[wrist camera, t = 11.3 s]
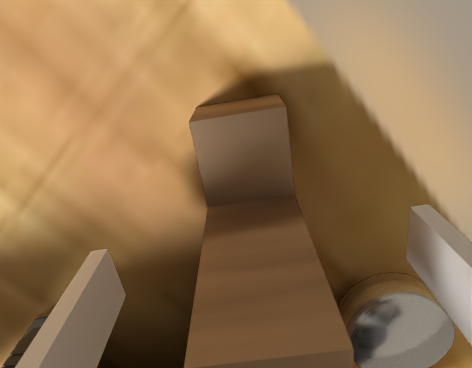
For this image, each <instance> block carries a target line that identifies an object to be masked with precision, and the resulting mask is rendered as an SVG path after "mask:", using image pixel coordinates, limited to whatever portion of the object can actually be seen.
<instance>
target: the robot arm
mask: <svg viewBox="0 0 472 368" xmlns="http://www.w3.org/2000/svg"><path fill="white" fill-rule="evenodd" d="M406 260H407V261H408V263H409V264H410V265H411V267H412V268H413V269H414V271H415V272H416V273H417V274H418V276H419V277H420V278H421V280H422V281H423V282H424V284H425V285H426V286H427V288H428V289H429V290H430V292H431V293H432V294H433V296H434V297H435V298H436V300H437V301H438V302H439V304H440V305H441V306H442V307H443V309H444V310H445V311H446V313H447V314H448V315H449V317H450V318H451V319H452V321H453V322H454V323H455V325H456V326H457V327H458V329H459V330H460V331H461V333H462V334H463V335H464V337H465V338H466V339H467V340H468V342H469V343H470V344H471V346H472V242H471V241H470V240H469V239H468V238H466V237H465V236H464V235H463V234H462V233H461V232H460V231H458V230H457V229H456V228H455V227H454V226H453V225H452V224H451V223H449V222H448V221H447V220H446V219H445V218H444V217H443V216H442V215H440V214H439V213H438V212H437V211H436V210H435V209H434V208H432V207H431V206H430V205H429V204H426V205H419V206H411V207H410V212H409V226H408V240H407V253H406ZM125 297H126V294H125V291H124V289H123V286H122V284H121V281H120V279H119V276H118V273H117V271H116V268H115V266H114V263H113V261H112V258H111V256H110V253H109V251H108V249H101V250H94V251H91V252H90V253H89V255H88V256H87V258H86V259H85V261H84V263H83V264H82V266H81V267H80V269H79V270H78V272H77V273H76V275H75V276H74V278H73V279H72V281H71V282H70V284H69V286H68V287H67V289H66V290H65V292H64V293H63V295H62V296H61V298H60V299H59V301H58V302H57V304H56V305H55V307H54V309H53V310H52V312H51V313H50V315H49V316H48V318H47V319H46V321H45V322H44V324H43V325H42V327H38V328H33V329H32V330H31V331H30V332H29V333H28V334H27V335H26V336H24V337H23V338H22V339H21V340H20V341H19V343H18V344H17V346H16V347H15V349H14V350H13V351H12V353H11V354H10V357H9V358H8V359H7V360H6V361H5V363H4V364H3V366H2V368H97V366H98V363H99V361H100V358H101V356H102V354H103V351H104V349H105V346H106V344H107V341H108V339H109V336H110V334H111V332H112V329H113V327H114V324H115V322H116V319H117V317H118V314H119V312H120V309H121V307H122V305H123V302H124V300H125Z"/></svg>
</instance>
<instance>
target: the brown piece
mask: <svg viewBox="0 0 472 368" xmlns="http://www.w3.org/2000/svg"><path fill="white" fill-rule="evenodd" d="M189 125H190V129H191V134H192V138H193V143H194V147H195V152H196V156H197V161H198V165H199V170H200V174H201V178H202V183H203V187H204V192H205V196H206V201H207V205H208V210H207V217H206V223H205V230H204V236H203V243H202V250H201V256H200V263H199V270H198V276H197V283H196V290H195V296H194V303H193V310H192V316H191V323H190V330H189V336H188V343H187V350H186V356H185V363H184V368H354V349H353V346H352V344H351V341H350V338H349V336H348V333H347V330H346V328H345V325H344V323H343V320H342V317H341V315H340V312H339V309H338V307H337V304H336V301H335V299H334V296H333V294H332V291H331V288H330V286H329V283H328V280H327V278H326V275H325V273H324V270H323V267H322V265H321V262H320V259H319V257H318V254H317V251H316V249H315V246H314V244H313V241H312V238H311V236H310V233H309V230H308V228H307V225H306V223H305V220H304V217H303V215H302V212H301V209H300V207H299V204H298V201H297V199H296V196H295V191H294V181H293V170H292V160H291V150H290V139H289V129H288V119H287V108H286V105H285V104H284V103H283V101H282V100H281V98H280V97H279V96H278V94H274V95H268V96H262V97H256V98H250V99H244V100H238V101H232V102H226V103H220V104H214V105H208V106H202V107H196V109H195V111H194V113H193V115H192V117H191V119H190V121H189Z"/></svg>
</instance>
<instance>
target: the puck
mask: <svg viewBox="0 0 472 368" xmlns="http://www.w3.org/2000/svg"><path fill="white" fill-rule="evenodd" d="M338 309H339V312H340V315H341V317H342V320H343V323H344V325H345V328H346V330H347V333H348V336H349V338H350V341H351V344H352V346H353V349H354V361H355V362H356V364H357V365H358V366H359V367H360V368H429V367H431V366H432V365H434V364H435V363H437V362H438V361H439V360H440V359H442V358H443V357H444V356H445V354H446V353H447V352H448V351H449V349H450V348H451V346H452V344H453V341H454V336H455V329H454V325H453V323H452V321H451V319H450V318H449V317H448V315H447V314H446V313H445V312H444V310H443V309H442V308H441V306H440V305H439V304H438V302H437V301H436V300H435V299H434V297H433V296H432V295H431V293H430V292H429V291H428V290H427V288H426V287H425V286H424V284H423V283H422V282H420V281H419V280H418V279H416V278H414V277H412V276H409V275H406V274H402V273H383V274H378V275H374V276H371V277H368V278H366V279H364V280H362V281H360V282H358V283H357V284H356V285H354V286H353V287H352V288H351V289H349V290H348V291H347V293H346V294H345V295H344V297H343V298H342V300H341V302H340V304H339V308H338Z"/></svg>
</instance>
